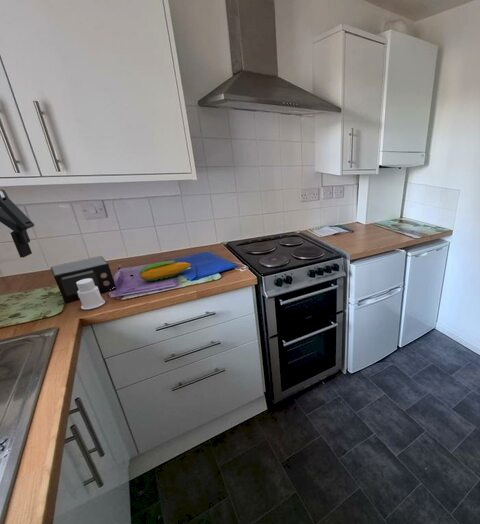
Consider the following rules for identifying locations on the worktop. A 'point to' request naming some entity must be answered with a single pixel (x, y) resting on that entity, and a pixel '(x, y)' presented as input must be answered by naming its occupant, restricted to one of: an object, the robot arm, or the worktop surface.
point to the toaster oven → (82, 276)
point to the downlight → (89, 294)
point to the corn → (162, 270)
